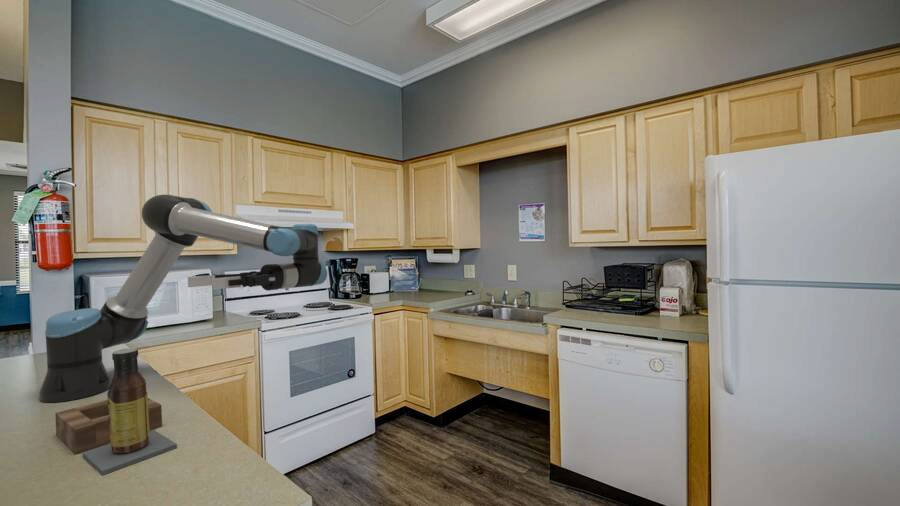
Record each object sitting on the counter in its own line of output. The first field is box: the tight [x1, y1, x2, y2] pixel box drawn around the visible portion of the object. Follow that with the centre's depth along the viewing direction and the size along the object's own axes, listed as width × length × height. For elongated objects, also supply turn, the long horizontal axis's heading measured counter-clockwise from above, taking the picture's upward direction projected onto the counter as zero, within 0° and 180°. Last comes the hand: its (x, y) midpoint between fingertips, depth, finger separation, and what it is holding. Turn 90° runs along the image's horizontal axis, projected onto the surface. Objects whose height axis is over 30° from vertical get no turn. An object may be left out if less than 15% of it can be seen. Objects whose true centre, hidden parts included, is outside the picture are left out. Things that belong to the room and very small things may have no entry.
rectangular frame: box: [55, 397, 163, 455], centre depth 92 cm, size 15×15×5 cm
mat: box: [82, 429, 178, 476], centre depth 82 cm, size 12×12×1 cm
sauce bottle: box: [107, 347, 151, 454], centre depth 82 cm, size 7×6×20 cm
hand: (200, 283), depth 103 cm, fingers open, 13 cm apart
